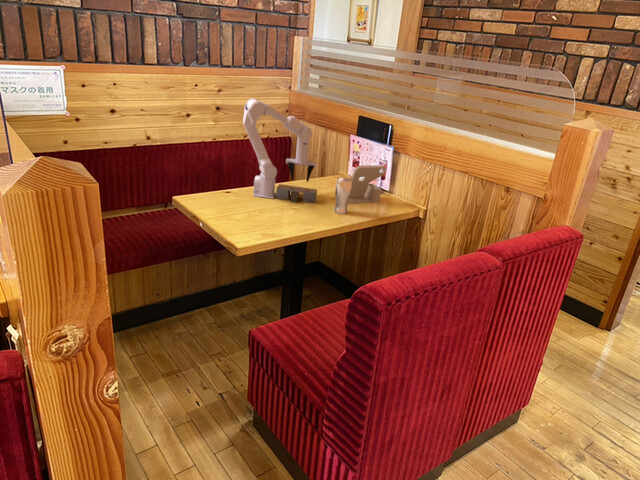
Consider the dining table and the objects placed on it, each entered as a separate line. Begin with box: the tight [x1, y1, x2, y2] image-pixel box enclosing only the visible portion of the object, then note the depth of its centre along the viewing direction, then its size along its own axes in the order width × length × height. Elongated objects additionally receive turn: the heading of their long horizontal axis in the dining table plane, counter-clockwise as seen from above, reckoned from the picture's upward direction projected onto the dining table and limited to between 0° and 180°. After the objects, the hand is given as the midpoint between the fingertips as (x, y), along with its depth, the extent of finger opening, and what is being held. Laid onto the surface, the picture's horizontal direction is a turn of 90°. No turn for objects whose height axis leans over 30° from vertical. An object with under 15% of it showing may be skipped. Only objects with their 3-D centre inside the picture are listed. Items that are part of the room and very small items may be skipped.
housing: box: [275, 183, 318, 204], centre depth 230 cm, size 18×6×5 cm, turn 82°
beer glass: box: [333, 176, 352, 215], centre depth 218 cm, size 7×7×15 cm
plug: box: [290, 191, 301, 204], centre depth 231 cm, size 4×14×4 cm, turn 179°
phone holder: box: [348, 164, 387, 205], centre depth 236 cm, size 17×10×18 cm, turn 113°
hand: (300, 179), depth 234 cm, fingers open, 7 cm apart
